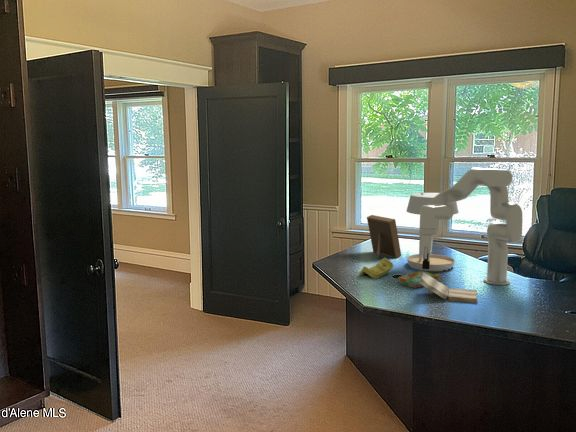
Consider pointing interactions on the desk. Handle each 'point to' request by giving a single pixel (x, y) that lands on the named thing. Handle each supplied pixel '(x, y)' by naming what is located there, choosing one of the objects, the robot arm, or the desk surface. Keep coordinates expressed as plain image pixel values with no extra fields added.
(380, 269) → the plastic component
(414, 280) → the puzzle game
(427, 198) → the lamp
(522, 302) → the desk surface
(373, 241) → the photo frame
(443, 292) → the birch plank
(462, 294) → the oak floorboard
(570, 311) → the desk surface
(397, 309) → the desk surface
